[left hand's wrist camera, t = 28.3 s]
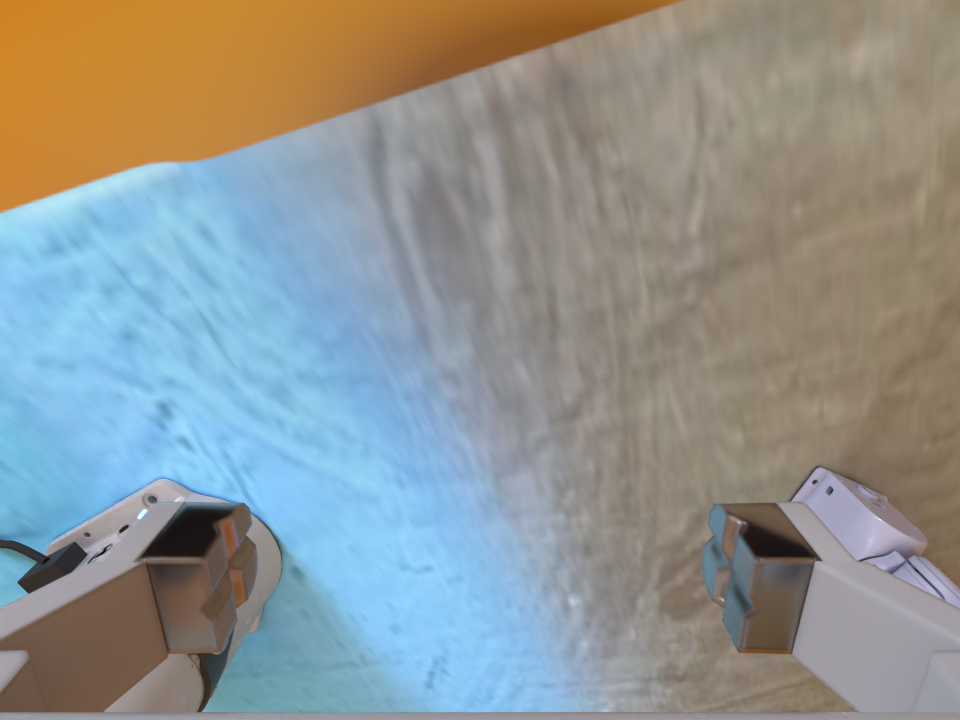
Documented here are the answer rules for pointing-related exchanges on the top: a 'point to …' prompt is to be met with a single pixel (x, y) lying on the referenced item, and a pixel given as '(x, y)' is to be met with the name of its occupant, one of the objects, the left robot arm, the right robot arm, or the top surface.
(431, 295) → the top surface
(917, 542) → the right robot arm
